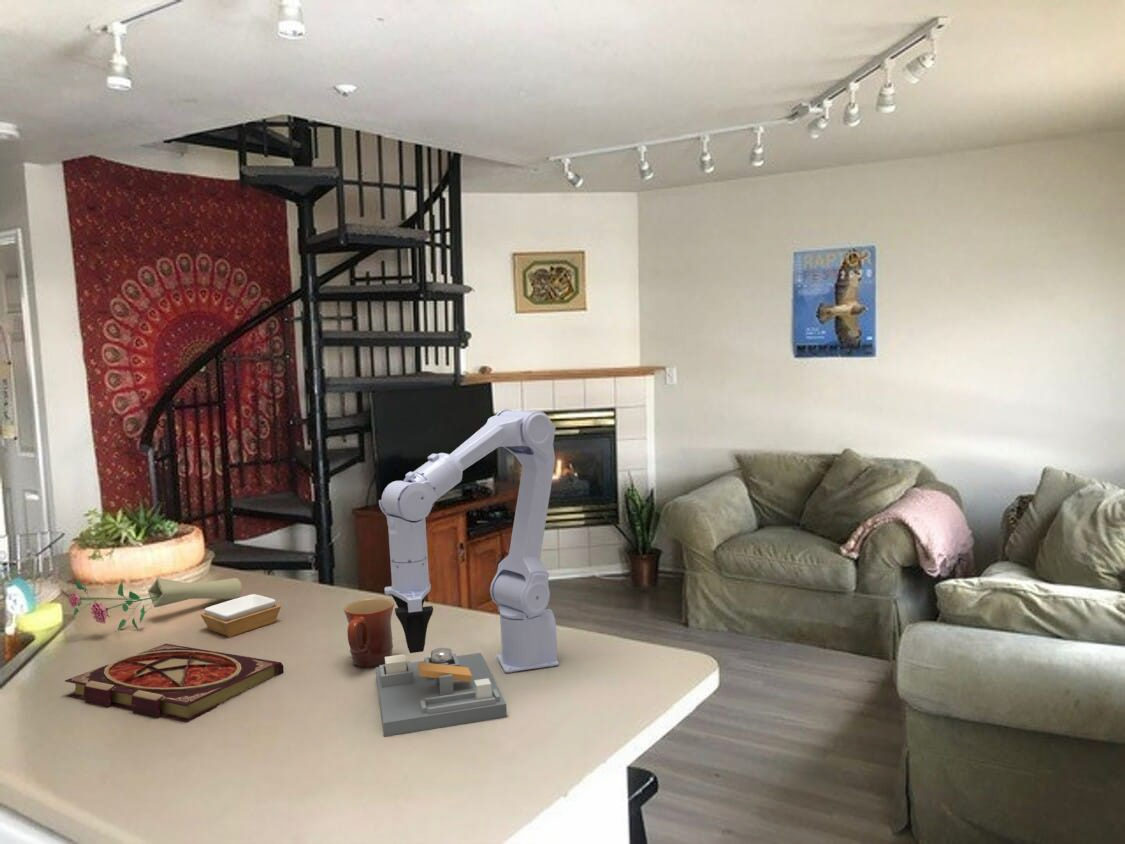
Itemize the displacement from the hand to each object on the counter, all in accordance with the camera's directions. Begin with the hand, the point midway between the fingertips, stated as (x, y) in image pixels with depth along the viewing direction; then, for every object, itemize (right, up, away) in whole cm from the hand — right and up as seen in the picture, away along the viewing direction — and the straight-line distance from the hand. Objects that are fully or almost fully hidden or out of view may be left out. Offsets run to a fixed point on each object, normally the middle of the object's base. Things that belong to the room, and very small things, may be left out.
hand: (414, 643), depth 131 cm
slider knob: (+11, -7, -4) cm, 14 cm away
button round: (+3, -5, +7) cm, 9 cm away
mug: (-11, -9, +17) cm, 22 cm away
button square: (-4, -6, +5) cm, 8 cm away
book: (-43, -11, +12) cm, 46 cm away
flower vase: (-62, -8, +47) cm, 78 cm away
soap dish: (-43, -8, +41) cm, 60 cm away
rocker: (+5, -5, 0) cm, 7 cm away
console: (+3, -9, +2) cm, 10 cm away
